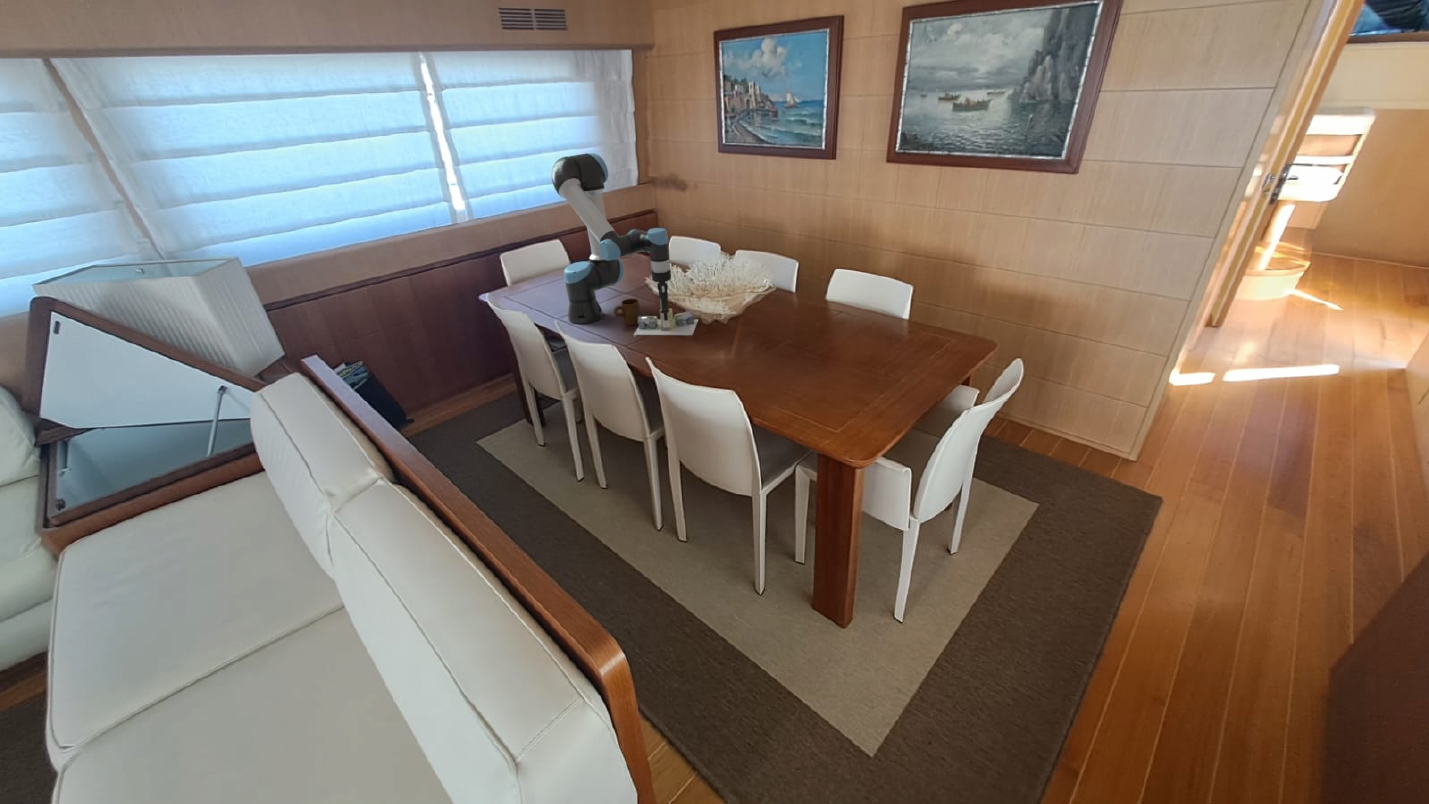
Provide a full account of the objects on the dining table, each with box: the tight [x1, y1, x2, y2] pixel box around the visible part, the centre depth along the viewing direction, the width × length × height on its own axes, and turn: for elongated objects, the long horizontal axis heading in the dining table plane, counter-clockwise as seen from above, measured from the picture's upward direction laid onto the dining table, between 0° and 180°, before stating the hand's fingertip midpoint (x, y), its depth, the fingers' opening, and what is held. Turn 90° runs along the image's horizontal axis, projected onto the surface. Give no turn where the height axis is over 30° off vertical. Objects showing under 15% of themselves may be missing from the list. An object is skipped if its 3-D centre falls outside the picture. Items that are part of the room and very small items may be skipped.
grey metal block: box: [673, 310, 695, 327], centre depth 225 cm, size 8×5×5 cm, turn 112°
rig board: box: [633, 318, 699, 338], centre depth 224 cm, size 24×16×2 cm, turn 82°
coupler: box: [659, 307, 674, 329], centre depth 222 cm, size 5×5×7 cm
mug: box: [613, 298, 642, 326], centre depth 229 cm, size 12×8×9 cm, turn 131°
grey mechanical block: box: [637, 315, 658, 329], centre depth 224 cm, size 8×5×5 cm, turn 82°
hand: (665, 320), depth 223 cm, fingers open, 13 cm apart
